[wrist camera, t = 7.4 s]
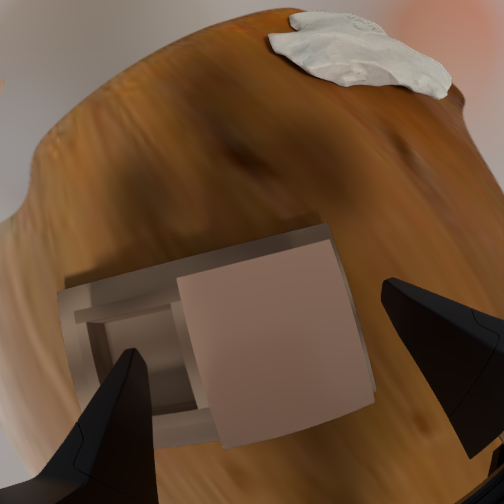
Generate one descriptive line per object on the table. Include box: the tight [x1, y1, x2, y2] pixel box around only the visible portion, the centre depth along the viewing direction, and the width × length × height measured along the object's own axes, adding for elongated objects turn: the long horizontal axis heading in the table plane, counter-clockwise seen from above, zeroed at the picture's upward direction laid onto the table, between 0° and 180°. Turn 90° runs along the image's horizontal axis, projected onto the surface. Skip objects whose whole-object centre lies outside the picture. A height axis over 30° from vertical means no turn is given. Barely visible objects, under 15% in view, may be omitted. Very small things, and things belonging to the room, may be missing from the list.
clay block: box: [176, 239, 375, 449], centre depth 12 cm, size 4×4×11 cm
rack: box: [57, 222, 377, 449], centre depth 16 cm, size 12×20×4 cm, turn 105°
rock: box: [268, 11, 452, 100], centre depth 24 cm, size 21×5×15 cm
